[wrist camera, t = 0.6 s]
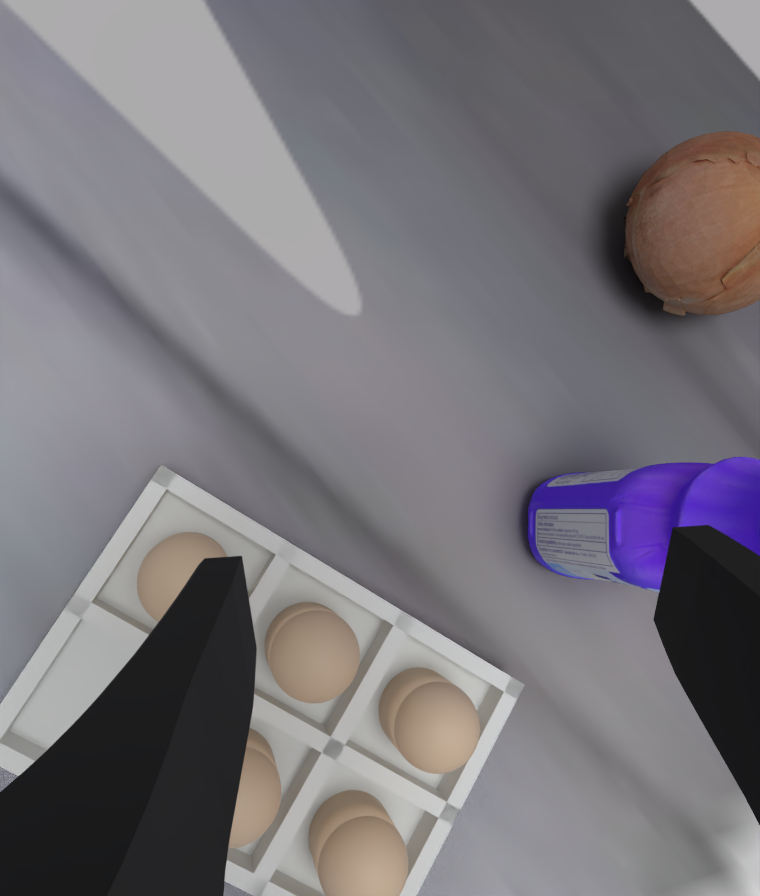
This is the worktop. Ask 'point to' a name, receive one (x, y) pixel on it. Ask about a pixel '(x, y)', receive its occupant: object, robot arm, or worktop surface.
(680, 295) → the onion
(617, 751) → the worktop surface
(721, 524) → the bottle
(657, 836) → the worktop surface
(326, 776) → the carton
